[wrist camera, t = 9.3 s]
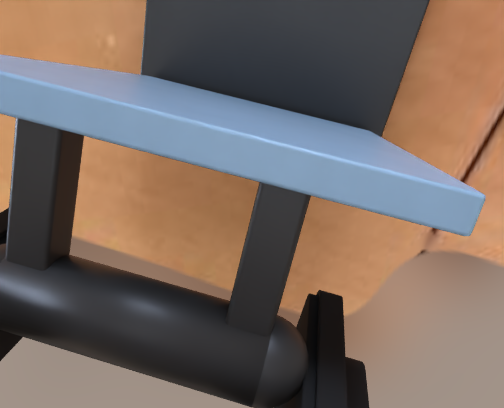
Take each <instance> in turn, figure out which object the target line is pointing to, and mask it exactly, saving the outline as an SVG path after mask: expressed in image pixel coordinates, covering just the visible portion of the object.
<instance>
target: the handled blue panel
mask: <svg viewBox="0 0 504 408" xmlns="http://www.w3.org/2000/svg"><path fill="white" fill-rule="evenodd" d="M0 114H4V115H8V116H12V117H15V118H16V124H15V137H14V150H13V163H12V176H11V189H10V202H9V215H8V228H7V241H6V244H1V245H0V330H3V331H6V332H9V333H13V334H16V335H19V336H22V337H26V338H29V339H32V340H35V341H39V342H42V343H45V344H49V345H51V346H55V347H58V348H61V349H64V350H68V351H71V352H74V353H77V354H81V355H84V356H87V357H91V358H94V359H97V360H100V361H103V362H107V363H110V364H113V365H116V366H120V367H123V368H126V369H129V370H133V371H136V372H139V373H143V374H146V375H149V376H152V377H156V378H159V379H162V380H165V381H168V382H172V383H175V384H178V385H181V386H185V387H188V388H191V389H194V390H197V391H201V392H204V393H207V394H210V395H214V396H217V397H220V398H223V399H227V400H230V401H233V402H237V403H240V404H243V405H246V406H249V407H254V408H274V407H278V406H281V405H283V404H285V403H287V402H288V401H289V400H290V399H292V398H293V397H294V396H295V395H296V394H297V393H298V391H299V390H300V388H301V386H302V383H303V380H304V378H305V376H306V374H307V371H308V366H309V361H308V351H307V347H306V344H305V341H304V339H303V337H302V335H301V334H300V332H299V331H298V329H297V328H296V327H295V326H294V325H293V324H292V323H290V322H289V321H287V320H286V319H284V318H283V317H280V316H278V315H277V313H278V309H279V306H280V302H281V299H282V295H283V292H284V288H285V285H286V281H287V278H288V274H289V271H290V267H291V264H292V260H293V257H294V253H295V250H296V246H297V243H298V239H299V235H300V232H301V228H302V225H303V221H304V218H305V214H306V211H307V207H308V204H309V200H310V197H311V196H314V197H318V198H322V199H326V200H330V201H333V202H337V203H341V204H345V205H348V206H352V207H356V208H360V209H364V210H367V211H371V212H375V213H379V214H382V215H386V216H390V217H394V218H398V219H401V220H405V221H409V222H413V223H417V224H420V225H424V226H428V227H432V228H435V229H439V230H443V231H447V232H451V233H454V234H458V235H462V236H470V235H471V233H472V231H473V228H474V226H475V224H476V221H477V219H478V216H479V214H480V211H481V209H482V206H483V204H484V201H485V195H484V194H482V193H481V192H479V191H477V190H475V189H474V188H472V187H470V186H468V185H466V184H465V183H463V182H461V181H459V180H457V179H456V178H454V177H452V176H450V175H448V174H447V173H445V172H443V171H441V170H439V169H438V168H436V167H434V166H432V165H430V164H429V163H427V162H425V161H423V160H421V159H420V158H418V157H416V156H414V155H412V154H411V153H409V152H407V151H405V150H403V149H401V148H400V147H398V146H396V145H394V144H392V143H391V142H389V141H387V140H385V139H383V138H382V137H380V136H378V135H376V134H374V133H373V132H371V131H368V130H364V129H360V128H356V127H352V126H348V125H344V124H340V123H336V122H332V121H328V120H324V119H320V118H316V117H312V116H308V115H304V114H300V113H296V112H292V111H288V110H284V109H280V108H276V107H272V106H268V105H264V104H260V103H256V102H252V101H248V100H244V99H240V98H236V97H232V96H228V95H224V94H219V93H215V92H211V91H207V90H203V89H199V88H195V87H191V86H187V85H183V84H179V83H175V82H171V81H167V80H163V79H159V78H155V77H151V76H146V75H139V74H132V73H125V72H118V71H111V70H104V69H97V68H90V67H83V66H76V65H69V64H63V63H56V62H49V61H42V60H35V59H28V58H21V57H14V56H7V55H0ZM84 136H87V137H91V138H95V139H99V140H102V141H106V142H110V143H114V144H118V145H121V146H125V147H129V148H133V149H136V150H140V151H144V152H148V153H152V154H155V155H159V156H163V157H167V158H171V159H174V160H178V161H182V162H186V163H189V164H193V165H197V166H201V167H205V168H208V169H212V170H216V171H220V172H224V173H227V174H231V175H235V176H239V177H242V178H246V179H250V180H254V181H258V182H259V186H258V190H257V194H256V198H255V202H254V206H253V211H252V215H251V219H250V223H249V227H248V231H247V235H246V239H245V243H244V247H243V251H242V255H241V259H240V263H239V267H238V271H237V275H236V279H235V283H234V287H233V291H232V296H231V300H230V301H228V300H224V299H221V298H217V297H214V296H210V295H207V294H204V293H200V292H197V291H193V290H189V289H186V288H183V287H179V286H176V285H172V284H169V283H165V282H162V281H159V280H155V279H152V278H148V277H145V276H141V275H138V274H134V273H131V272H127V271H124V270H120V269H117V268H113V267H110V266H106V265H103V264H100V263H96V262H93V261H89V260H86V259H82V258H79V257H75V256H72V255H69V252H70V245H71V237H72V229H73V220H74V212H75V204H76V196H77V188H78V180H79V172H80V163H81V155H82V147H83V139H84Z"/></svg>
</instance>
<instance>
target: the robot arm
mask: <svg viewBox="0 0 504 408" xmlns="http://www.w3.org/2000/svg"><path fill="white" fill-rule="evenodd" d="M8 215H9V208H8V209H6V210H4V211H3V212H1V213H0V245H1V244H6V241H7V228H8ZM296 328H297V329H298V331H299V332H300V334H301V335H302V337H303V339H304V341H305V344H306V347H307V351H308V361H309V366H308V371H307V374H306V376H305V378H304V380H303V383H302V386H301V388H300V390H299V391H298V393H297V394H296V395H295V396H294V397H293V398H292V399H290V400H289V401H288V402H287V403H285V404H283V405H281V406H278V407H274V408H369V401H368V392H367V381H366V371H365V366H364V364H363V362H361V361H358V360H354V359H351V358H348V357H345V339H344V315H343V298H342V296H339V295H335V294H332V293H328V292H325V291H321V290H319V291H318V293H317V295H313V294H310V293H309V294H308V296H307V299H306V302H305V305H304V307H303V310H302V313H301V316H300V319H299V321H298V324H297V327H296ZM21 338H22V336H19V335H16V334H13V333H9V332H6V331H3V330H0V361H1V360H2V359H3V358H4V357H5V355H6V354H7V353H8V352H9V351H10V350H11V349H12V348H13V347H14V346H15V345H16V344H17V343H18V342H19V341H20V340H21Z"/></svg>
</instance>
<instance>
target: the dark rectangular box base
mask: <svg viewBox="0 0 504 408" xmlns="http://www.w3.org/2000/svg"><path fill="white" fill-rule="evenodd" d="M429 1H430V0H147V3H146V15H145V27H144V39H143V51H142V63H141V75H146V76H151V77H155V78H159V79H163V80H167V81H171V82H175V83H179V84H183V85H187V86H191V87H195V88H199V89H203V90H207V91H211V92H215V93H219V94H224V95H228V96H232V97H236V98H240V99H244V100H248V101H252V102H256V103H260V104H264V105H268V106H272V107H276V108H280V109H284V110H288V111H292V112H296V113H300V114H304V115H308V116H312V117H316V118H320V119H324V120H328V121H332V122H336V123H340V124H344V125H348V126H352V127H356V128H360V129H364V130H368V131H371V132H373V133H374V134H376V135H378V136H380V137H381V136H382V133H383V131H384V128H385V125H386V122H387V119H388V117H389V114H390V111H391V108H392V105H393V102H394V100H395V97H396V94H397V91H398V88H399V86H400V83H401V80H402V77H403V74H404V71H405V69H406V66H407V63H408V60H409V57H410V55H411V52H412V49H413V46H414V43H415V40H416V38H417V35H418V32H419V29H420V26H421V24H422V21H423V18H424V15H425V12H426V9H427V7H428V4H429Z"/></svg>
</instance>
